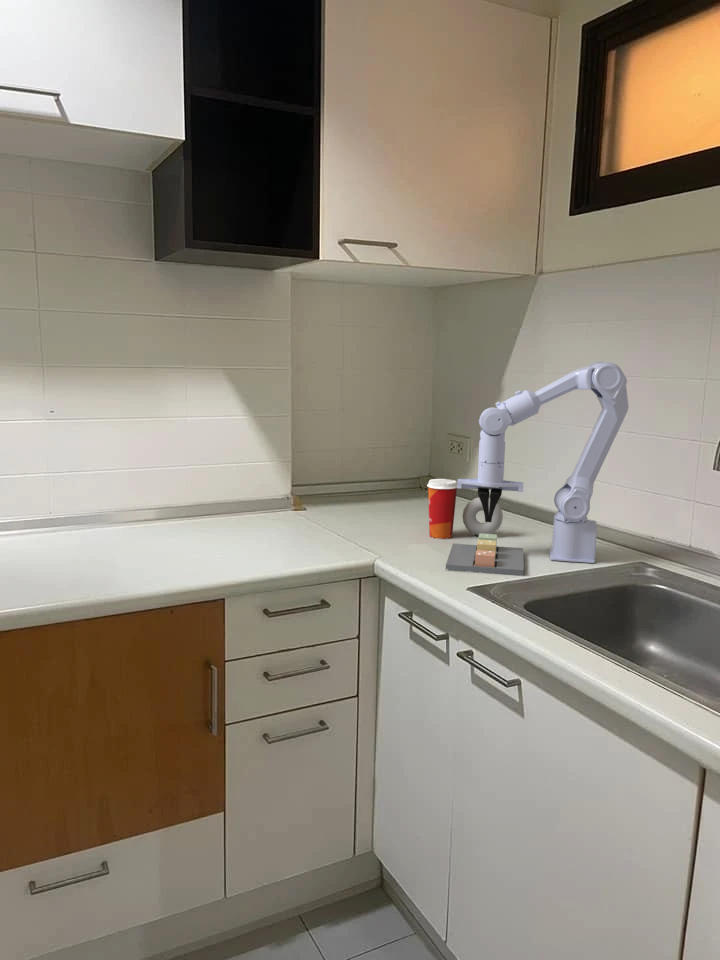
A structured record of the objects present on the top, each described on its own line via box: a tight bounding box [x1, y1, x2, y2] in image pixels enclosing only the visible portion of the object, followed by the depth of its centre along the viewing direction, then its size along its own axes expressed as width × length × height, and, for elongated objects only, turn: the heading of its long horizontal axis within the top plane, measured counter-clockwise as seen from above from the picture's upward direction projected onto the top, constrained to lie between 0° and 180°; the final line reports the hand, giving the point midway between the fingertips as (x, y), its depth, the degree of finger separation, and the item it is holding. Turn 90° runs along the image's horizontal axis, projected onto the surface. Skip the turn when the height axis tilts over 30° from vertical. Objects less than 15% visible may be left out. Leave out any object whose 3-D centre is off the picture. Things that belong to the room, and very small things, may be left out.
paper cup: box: [426, 478, 458, 540], centre depth 185 cm, size 8×8×14 cm
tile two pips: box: [476, 539, 497, 556], centre depth 164 cm, size 4×4×3 cm
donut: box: [461, 497, 504, 537], centre depth 186 cm, size 10×3×10 cm, turn 84°
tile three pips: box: [474, 550, 496, 567], centre depth 158 cm, size 4×4×3 cm
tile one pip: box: [477, 533, 498, 546], centre depth 170 cm, size 4×4×3 cm
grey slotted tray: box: [445, 543, 524, 577], centre depth 164 cm, size 16×18×1 cm
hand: (488, 521), depth 169 cm, fingers closed
